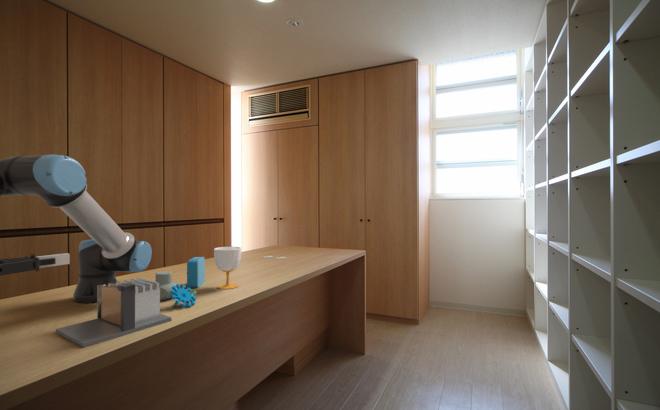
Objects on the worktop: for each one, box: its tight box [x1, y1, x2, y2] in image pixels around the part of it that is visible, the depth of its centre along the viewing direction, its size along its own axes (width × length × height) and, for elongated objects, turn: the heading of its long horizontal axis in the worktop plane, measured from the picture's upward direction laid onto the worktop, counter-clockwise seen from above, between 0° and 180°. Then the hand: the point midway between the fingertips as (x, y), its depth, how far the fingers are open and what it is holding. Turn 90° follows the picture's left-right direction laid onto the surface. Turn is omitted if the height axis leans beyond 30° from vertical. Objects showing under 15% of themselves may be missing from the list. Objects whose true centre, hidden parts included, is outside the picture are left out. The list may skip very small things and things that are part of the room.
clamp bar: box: [96, 284, 121, 326], centre depth 102 cm, size 15×2×10 cm, turn 58°
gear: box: [170, 283, 197, 308], centre depth 123 cm, size 11×6×10 cm
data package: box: [186, 256, 206, 289], centre depth 153 cm, size 12×4×12 cm, turn 6°
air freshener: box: [154, 270, 178, 301], centre depth 132 cm, size 11×8×10 cm
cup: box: [213, 246, 242, 290], centre depth 151 cm, size 12×12×17 cm
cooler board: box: [55, 283, 172, 348], centre depth 102 cm, size 18×24×14 cm
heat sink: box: [108, 277, 161, 324], centre depth 106 cm, size 12×10×11 cm
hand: (68, 258), depth 91 cm, fingers closed
